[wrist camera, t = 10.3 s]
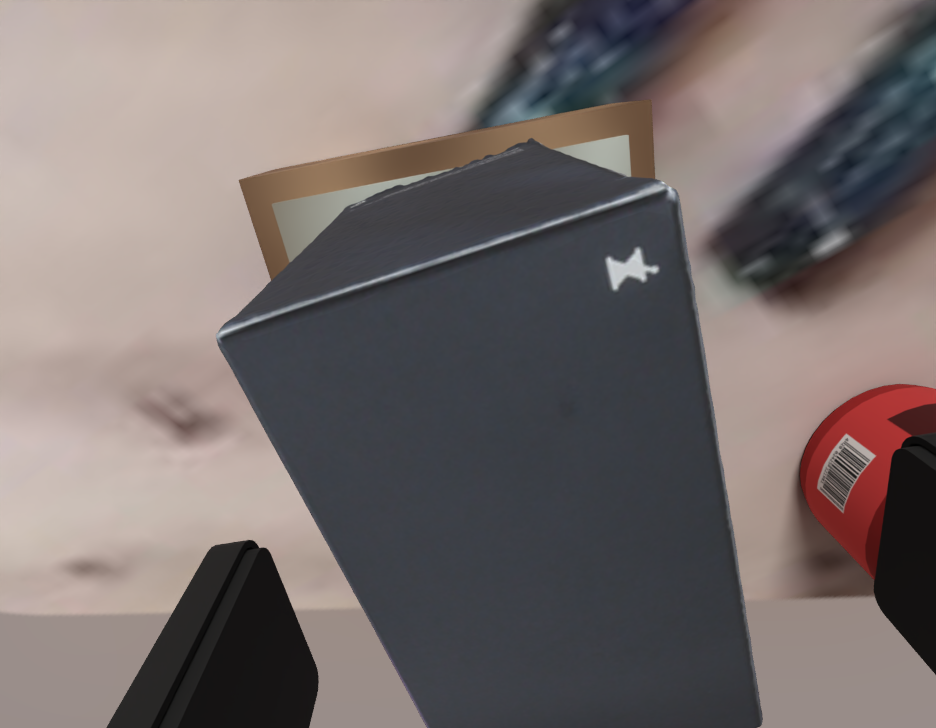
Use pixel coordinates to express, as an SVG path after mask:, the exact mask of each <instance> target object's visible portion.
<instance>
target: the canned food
mask: <svg viewBox="0 0 936 728" xmlns="http://www.w3.org/2000/svg"><path fill="white" fill-rule="evenodd" d="M935 432H936V389H933V388H928V387H923V386H917V385H906V384H896V385H888V386H882V387H879V388H875V389H872V390H869V391H866V392H864V393H862V394H860V395H858V396H856V397H854V398H852V399H850V400H849V401H847V402H846V403H844V404H843V405H841V406H840V407H838V408H837V409H836V410H835V411H834V412H833V413H831V414H830V415H829V416H828V417H827V418H826V419H825V420H824V421H823V422H822V424H821V425H820V426H819V427H818V429H817V430H816V431H815V432H814V434H813V436H812V438H811V439H810V441H809V443H808V445H807V446H806V449H805V452H804V455H803V458H802V462H801V469H800V480H801V487H802V490H803V493H804V496H805V498H806V501H807V503H808V505H809V507H810V510H811V511H812V513H813V514H814V516H815V517H816V519H817V520H818V521H819V522H820V523H821V524H822V525H823V527H824V528H825V529H826V530H827V531H828V532H829V533H830V534H831V535H832V536H833V537H834V538H835V539H836V540H837V541H838V542H839V543H840V544H841V545H842V547H843V548H844V549H845V550H846V551H847V552H848V553H849V554H850V555H851V556H852V557H853V558H854V559H855V560H856V561H857V562H858V563H859V564H860V566H861V567H862V568H863V569H864V570H865V571H866V572H867V573H868V574H869V575H870V576H871V577H872V578H873V579H874V580H875V574H876V567H877V559H878V552H879V545H880V538H881V531H882V523H883V516H884V509H885V502H886V495H887V488H888V480H889V473H890V466H891V459H892V455H893V453H894V452H895V450H897V449H900V448H901V446H902V443H903V442H904V440H905V439H906V438H908V437H911V436H915V435H922V434H928V433H935Z"/></svg>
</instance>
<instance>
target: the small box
mask: <svg viewBox="0 0 936 728" xmlns="http://www.w3.org/2000/svg"><path fill="white" fill-rule="evenodd" d="M216 338H217V343H218V346H219V348H220V350H221V352H222V353H223V355H224V357H225V358H226V360H227V362H228V364H229V365H230V367H231V369H232V370H233V372H234V374H235V376H236V378H237V380H238V382H239V384H240V385H241V387H242V389H243V391H244V393H245V395H246V396H247V398H248V400H249V402H250V404H251V406H252V408H253V410H254V411H255V413H256V415H257V417H258V419H259V421H260V422H261V424H262V426H263V428H264V430H265V432H266V434H267V435H268V437H269V439H270V441H271V443H272V444H273V446H274V448H275V450H276V452H277V453H278V455H279V457H280V459H281V461H282V462H283V464H284V466H285V468H286V470H287V471H288V473H289V475H290V477H291V479H292V480H293V482H294V484H295V486H296V488H297V489H298V491H299V493H300V495H301V497H302V499H303V500H304V502H305V504H306V506H307V508H308V509H309V511H310V513H311V515H312V517H313V519H314V520H315V522H316V524H317V526H318V528H319V530H320V531H321V533H322V535H323V537H324V539H325V540H326V542H327V544H328V546H329V548H330V550H331V551H332V553H333V555H334V557H335V559H336V561H337V562H338V564H339V566H340V568H341V570H342V572H343V573H344V575H345V577H346V579H347V581H348V582H349V584H350V586H351V588H352V590H353V592H354V593H355V595H356V597H357V599H358V601H359V603H360V604H361V606H362V608H363V610H364V611H365V613H366V615H367V617H368V619H369V621H370V622H371V624H372V626H373V628H374V630H375V632H376V634H377V636H378V637H379V639H380V641H381V643H382V645H383V647H384V649H385V651H386V652H387V654H388V656H389V658H390V660H391V662H392V663H393V665H394V667H395V669H396V671H397V673H398V675H399V677H400V679H401V680H402V682H403V684H404V686H405V688H406V690H407V691H408V693H409V695H410V697H411V699H412V701H413V702H414V704H415V706H416V708H417V710H418V712H419V714H420V716H421V717H422V719H423V721H424V723H425V725H426V727H427V728H757V727H760V726H761V725H762V720H763V718H762V711H761V706H760V699H759V692H758V685H757V679H756V673H755V667H754V661H753V656H752V647H751V639H750V635H749V629H748V623H747V618H746V608H745V602H744V596H743V590H742V585H741V579H740V572H739V565H738V557H737V550H736V544H735V538H734V531H733V526H732V521H731V515H730V508H729V501H728V495H727V490H726V484H725V477H724V470H723V465H722V461H721V456H720V450H719V443H718V435H717V427H716V420H715V414H714V407H713V402H712V397H711V392H710V385H709V378H708V370H707V363H706V356H705V350H704V344H703V339H702V333H701V328H700V322H699V315H698V309H697V304H696V300H695V287H694V284H693V280H692V277H691V265H690V262H689V257H688V251H687V244H686V238H685V231H684V225H683V218H682V211H681V205H680V199H679V195H678V193H677V191H676V190H675V189H673V188H671V187H669V186H668V185H667V184H665V183H664V182H662V181H660V180H657V179H653V178H640V177H628V176H626V175H625V174H622V173H618V172H615V171H613V170H610V169H607V168H604V167H600V166H598V165H596V164H592V163H589V162H587V161H585V160H581V159H578V158H575V157H572V156H570V155H566V154H564V153H562V152H559V151H556V150H553V149H550V148H548V147H546V146H545V145H543V144H541V143H539V142H537V141H535V140H534V139H533V138H530V139H528V141H527V142H523V143H517V144H515V145H514V146H512V147H510V148H508V149H507V150H505V151H504V152H502V153H500V154H497V155H486V156H485V157H484V158H483V159H482V160H478V159H477V160H473V161H471V162H470V163H469V164H466V165H464V166H463V167H455V168H454V169H452V170H450V171H447V172H443V173H440V174H438V175H435V176H427V177H425V178H424V179H422V180H419V181H417V182H413V183H410V184H408V185H396V186H394V187H392V188H389V189H385V190H384V191H382V192H379V193H376V194H375V195H373V196H371V197H368V198H366V199H365V200H363V201H360V202H358V203H355V204H351V205H349V206H347V207H345V208H344V210H343V211H342V212H341V213H340V214H339V215H338V216H337V217H336V218H335V219H334V220H333V222H332V223H331V224H330V225H329V226H327V227H326V228H325V229H324V230H323V231H322V232H321V233H320V234H319V235H318V236H317V237H316V238H315V239H314V241H313V242H312V243H310V244H309V245H308V246H307V247H306V248H305V249H304V250H303V251H302V252H301V253H300V254H299V255H298V256H296V257H295V259H294V260H293V261H292V262H290V263H289V264H288V265H287V266H286V267H285V269H284V270H283V271H281V272H280V273H279V274H278V275H277V276H276V277H275V278H274V279H273V280H272V281H271V282H269V283H268V284H267V286H266V287H265V288H264V289H263V290H262V291H261V292H260V293H259V294H258V295H257V296H256V297H255V298H254V299H253V300H252V301H251V302H250V303H249V304H248V305H247V306H246V307H245V308H244V309H243V310H242V311H241V312H240V313H239V314H238V315H237V316H235V317H234V318H232V319H231V320H229V321H228V322H226V323H225V324H224V325H223V326H222V328H221V329H220V330H219V332H218V333H217V334H216Z"/></svg>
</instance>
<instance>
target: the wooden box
mask: <svg viewBox="0 0 936 728" xmlns="http://www.w3.org/2000/svg"><path fill="white" fill-rule="evenodd" d="M530 138H533V139H534V140H535V141H537V142H539V143H541V144H543V145H545V146H546V147H548V148H550V149H553V150H556V151H559V152H562V153H564V154H566V155H570V156H572V157H575V158H578V159H581V160H585V161H587V162H589V163H592V164H596V165H598V166H600V167H604V168H607V169H610V170H613V171H615V172H618V173H622V174H625V175H626V176H628V177H640V178H653V179H655V167H654V145H653V124H652V102H651V100H642V101H632V102H622V103H613V104H607V105H602V106H597V107H592V108H587V109H581V110H576V111H571V112H566V113H561V114H556V115H551V116H546V117H541V118H535V119H530V120H525V121H520V122H515V123H510V124H505V125H500V126H495V127H489V128H484V129H479V130H474V131H469V132H464V133H459V134H454V135H448V136H443V137H438V138H433V139H428V140H423V141H418V142H413V143H408V144H402V145H397V146H392V147H387V148H382V149H377V150H372V151H367V152H362V153H356V154H351V155H346V156H341V157H336V158H331V159H326V160H321V161H315V162H310V163H305V164H300V165H295V166H290V167H285V168H280V169H275V170H271V171H268V172H264V173H261V174H258V175H254V176H251V177H247V178H244V179H241V180H239V183H240V186H241V189H242V192H243V195H244V198H245V201H246V204H247V207H248V210H249V214H250V217H251V220H252V223H253V226H254V229H255V232H256V235H257V238H258V241H259V244H260V247H261V250H262V253H263V256H264V260H265V263H266V266H267V269H268V272H269V275H270V278H271V281H272V280H273V279H274V278H275V277H276V276H277V275H278V274H279V273H280V272H281V271H283V270H284V269H285V267H286V266H287V265H288V264H289V263H290V262H292V261H293V260H294V259H295V257H296V256H298V255H299V254H300V253H301V252H302V251H303V250H304V249H305V248H306V247H307V246H308V245H309V244H310V243H312V242H313V241H314V239H315V238H316V237H317V236H318V235H319V234H320V233H321V232H322V231H323V230H324V229H325V228H326V227H327V226H329V225H330V224H331V223H332V222H333V220H334V219H335V218H336V217H337V216H338V215H339V214H340V213H341V212H342V211H343V210H344V208H345V207H347V206H349V205H351V204H355V203H358V202H360V201H363V200H365V199H366V198H368V197H371V196H373V195H375V194H376V193H379V192H382V191H384V190H385V189H389V188H392V187H394V186H396V185H408V184H410V183H413V182H417V181H419V180H422V179H424V178H425V177H427V176H435V175H438V174H440V173H443V172H447V171H450V170H452V169H454V168H455V167H463V166H464V165H466V164H469V163H470V162H471V161H473V160H477V159H478V160H482V159H483V158H484V157H485V156H486V155H497V154H500V153H502V152H504V151H505V150H507V149H508V148H510V147H512V146H514V145H515V144H517V143H523V142H527V141H528V139H530Z"/></svg>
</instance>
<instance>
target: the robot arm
mask: <svg viewBox="0 0 936 728" xmlns="http://www.w3.org/2000/svg"><path fill="white" fill-rule="evenodd" d="M874 594H875V598H876V601H877V603H878V605H879V607H880V609H881V610H882V612H883V613H884V615H885V616H886V617H887V618H888V619H889V621H890V622H891V623H892V624H893V625H894V626H895V627H896V629H897V630H898V631H899V632H900V633H901V635H902V636H903V637H904V638H905V639H906V640H907V642H908V643H909V644H910V645H911V646H912V647H913V649H914V650H915V651H916V652H917V653H918V655H920V657H921V658H922V659H923V660H924V662H925V663H926V664H927V665H928V666H929V667H930V669H931V670H932V671H933V672H934V673H935V674H936V432H935V433H928V434H922V435H915V436H911V437H908V438H906V439H905V440H904V442H903V443H902V446H901V448H900V449H897V450H895V452H894V453H893V455H892V459H891V466H890V473H889V480H888V488H887V495H886V502H885V509H884V516H883V523H882V531H881V538H880V545H879V552H878V559H877V567H876V574H875V581H874ZM317 692H318V671H317V667H316V664H315V662H314V659H313V657H312V654H311V652H310V649H309V647H308V644H307V642H306V640H305V637H304V635H303V632H302V630H301V628H300V625H299V623H298V620H297V618H296V615H295V612H294V610H293V608H292V605H291V603H290V600H289V598H288V595H287V593H286V590H285V588H284V585H283V583H282V581H281V578H280V576H279V573H278V571H277V568H276V566H275V563H274V561H273V558H272V556H271V554H270V552H269V550H268V549H266V548H259V547H258V545H257V544H256V543H255V542H254V541H253V540H246V541H240V542H233V543H227V544H220V545H215V546H213V547H211V549H210V550H209V551H208V552H207V554H206V556H205V558H204V559H203V561H202V563H201V565H200V566H199V568H198V570H197V571H196V573H195V575H194V577H193V578H192V580H191V582H190V584H189V585H188V587H187V589H186V591H185V592H184V594H183V596H182V598H181V599H180V601H179V603H178V604H177V606H176V608H175V610H174V611H173V613H172V615H171V617H170V618H169V620H168V622H167V624H166V625H165V627H164V629H163V630H162V632H161V634H160V636H159V637H158V639H157V641H156V643H155V644H154V646H153V648H152V650H151V651H150V653H149V655H148V657H147V658H146V660H145V662H144V664H143V665H142V667H141V669H140V670H139V672H138V674H137V676H136V677H135V679H134V681H133V683H132V684H131V686H130V688H129V690H128V691H127V693H126V695H125V696H124V698H123V700H122V702H121V704H120V705H119V707H118V709H117V710H116V712H115V714H114V716H113V717H112V719H111V721H110V723H109V724H108V726H107V728H309V726H310V721H311V717H312V713H313V709H314V704H315V701H316V697H317Z"/></svg>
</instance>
